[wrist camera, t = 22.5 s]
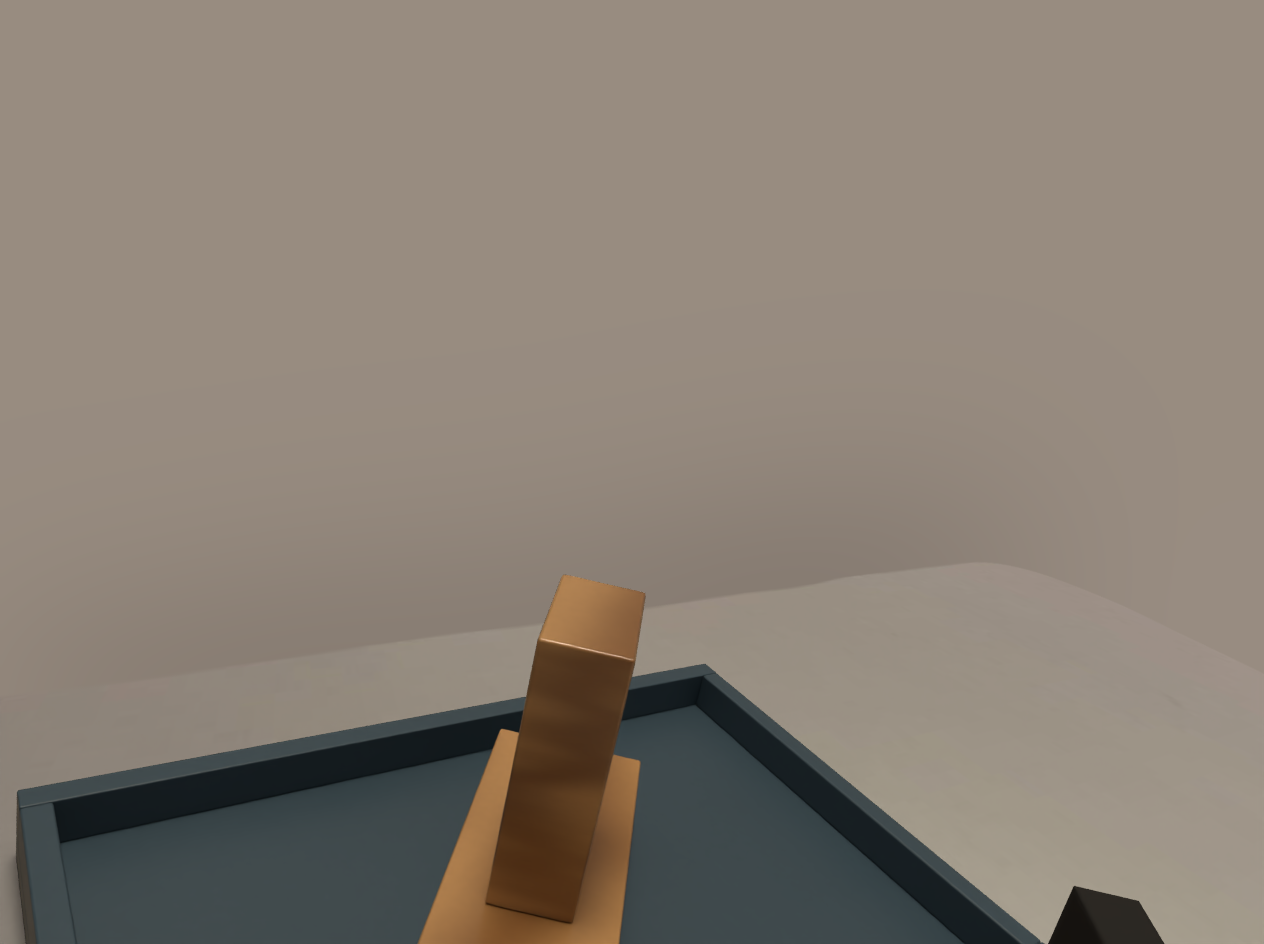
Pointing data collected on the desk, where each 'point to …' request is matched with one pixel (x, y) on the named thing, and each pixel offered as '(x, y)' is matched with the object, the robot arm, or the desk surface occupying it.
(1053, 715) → the desk surface
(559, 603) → the wooden block on base
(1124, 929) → the robot arm
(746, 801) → the tray
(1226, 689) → the desk surface
